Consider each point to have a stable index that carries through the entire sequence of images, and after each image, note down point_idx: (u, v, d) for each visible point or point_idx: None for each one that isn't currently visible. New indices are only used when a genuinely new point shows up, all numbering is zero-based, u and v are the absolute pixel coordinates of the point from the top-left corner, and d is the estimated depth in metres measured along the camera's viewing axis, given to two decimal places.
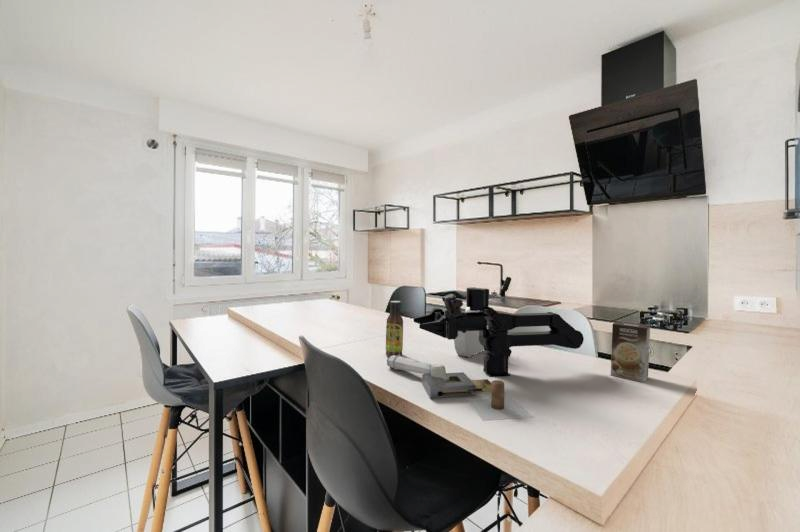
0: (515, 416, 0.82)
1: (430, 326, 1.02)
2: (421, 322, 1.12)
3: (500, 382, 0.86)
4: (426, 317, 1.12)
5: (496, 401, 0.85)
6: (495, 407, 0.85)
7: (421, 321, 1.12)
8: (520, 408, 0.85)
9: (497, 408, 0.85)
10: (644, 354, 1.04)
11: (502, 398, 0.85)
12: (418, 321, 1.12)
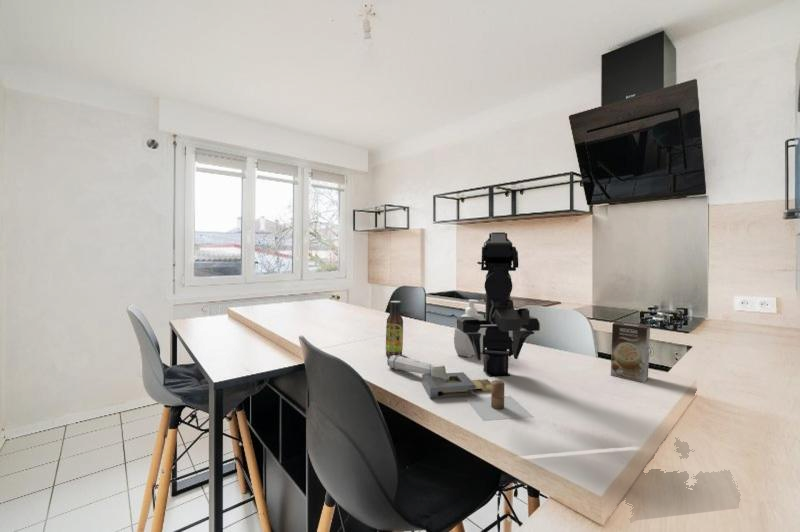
0: (515, 416, 0.82)
1: None
2: None
3: (500, 382, 0.86)
4: None
5: (496, 401, 0.85)
6: (495, 407, 0.85)
7: None
8: (520, 408, 0.85)
9: (497, 408, 0.85)
10: (644, 354, 1.04)
11: (502, 398, 0.85)
12: None
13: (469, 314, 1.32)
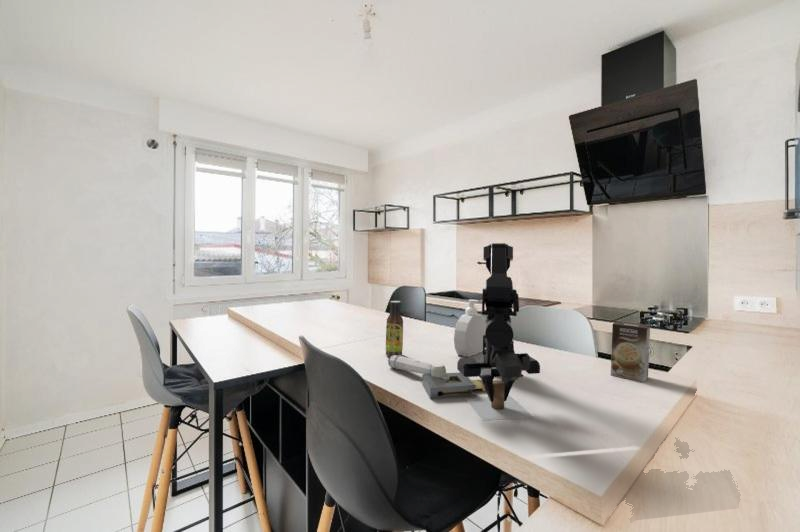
0: (515, 416, 0.82)
1: None
2: None
3: (500, 382, 0.86)
4: None
5: (496, 401, 0.85)
6: (495, 407, 0.85)
7: None
8: (520, 408, 0.85)
9: (497, 408, 0.85)
10: (644, 354, 1.04)
11: (502, 398, 0.85)
12: None
13: (469, 314, 1.32)
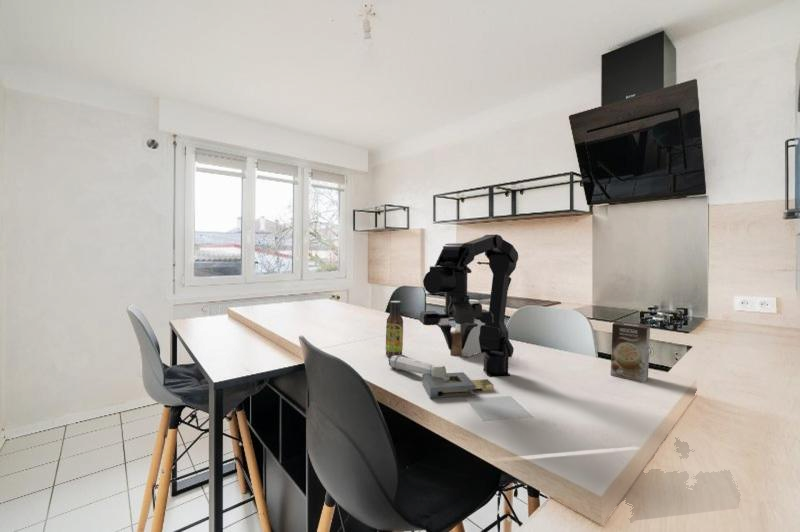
0: (515, 416, 0.82)
1: None
2: None
3: (458, 332, 0.95)
4: None
5: (454, 349, 0.94)
6: (453, 354, 0.94)
7: None
8: (520, 408, 0.85)
9: (455, 355, 0.94)
10: (644, 354, 1.04)
11: (459, 346, 0.94)
12: None
13: None
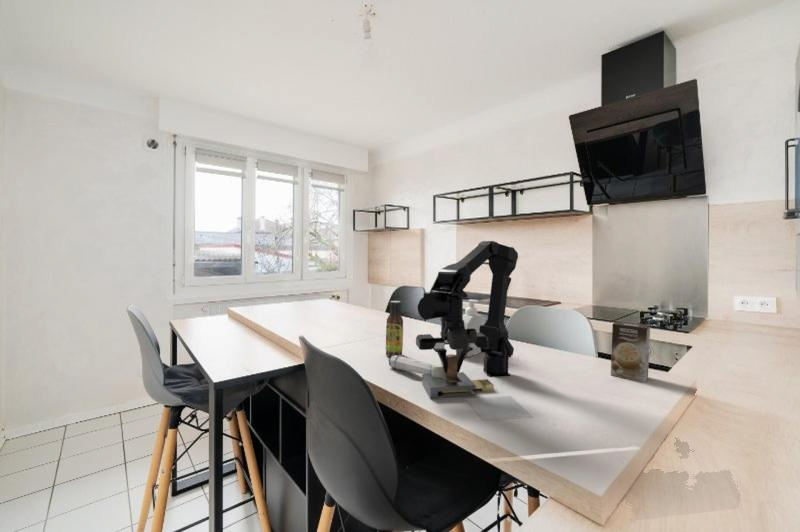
0: (515, 416, 0.82)
1: None
2: None
3: (454, 355, 0.97)
4: (445, 358, 0.96)
5: (449, 372, 0.95)
6: (449, 377, 0.96)
7: None
8: (520, 408, 0.85)
9: (450, 378, 0.95)
10: (644, 354, 1.04)
11: (455, 369, 0.95)
12: None
13: (469, 314, 1.32)
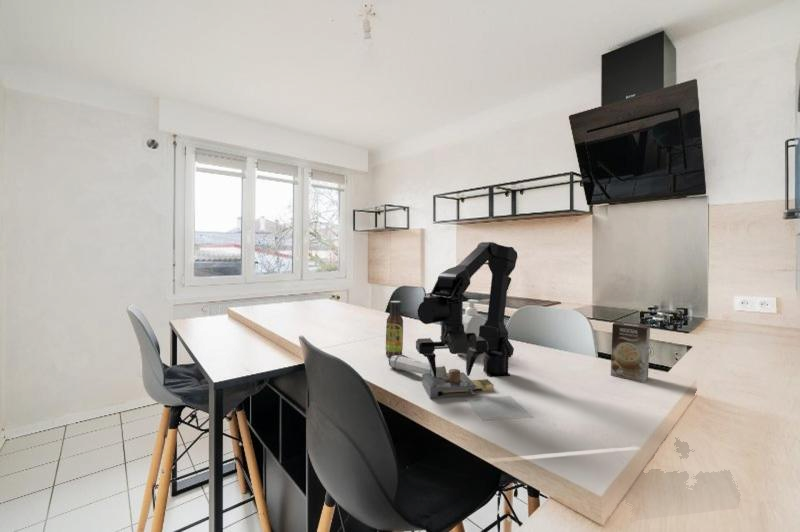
0: (515, 416, 0.82)
1: None
2: None
3: (456, 370, 0.96)
4: None
5: None
6: None
7: None
8: (520, 408, 0.85)
9: None
10: (644, 354, 1.04)
11: None
12: None
13: (469, 314, 1.32)
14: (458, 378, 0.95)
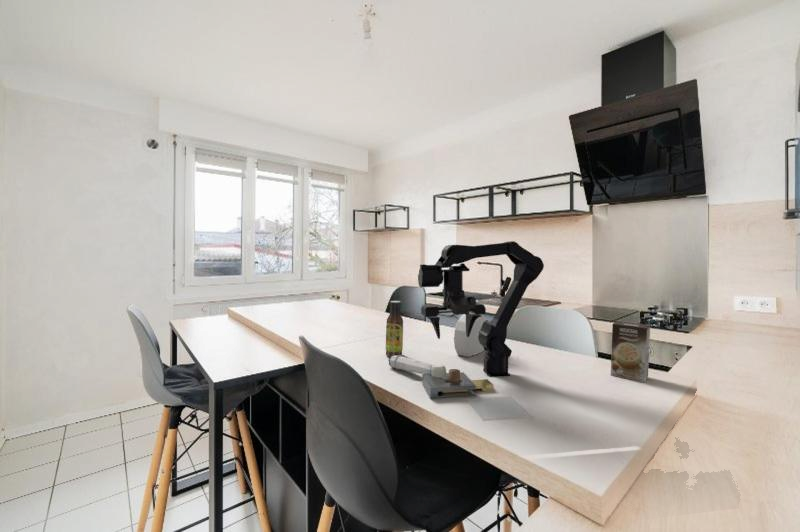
0: (515, 416, 0.82)
1: None
2: None
3: (457, 370, 0.96)
4: None
5: None
6: None
7: None
8: (520, 408, 0.85)
9: None
10: (644, 354, 1.04)
11: None
12: None
13: None
14: (458, 378, 0.95)
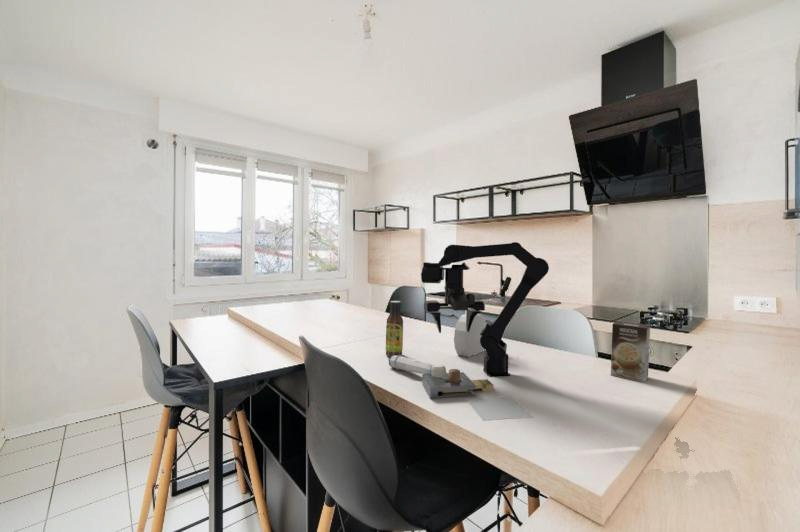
0: (515, 416, 0.82)
1: None
2: None
3: (457, 370, 0.96)
4: None
5: None
6: None
7: None
8: (520, 408, 0.85)
9: None
10: (644, 354, 1.04)
11: None
12: None
13: None
14: (458, 378, 0.95)
